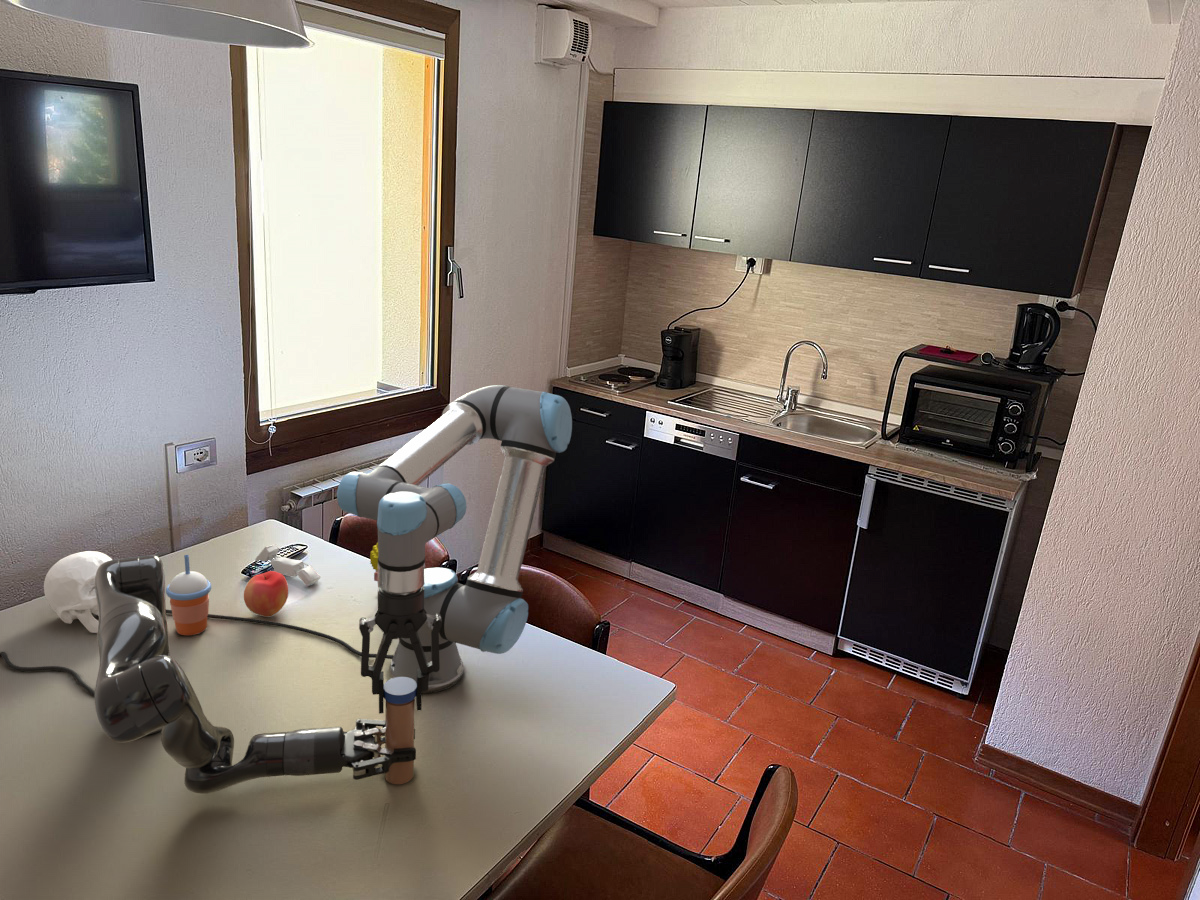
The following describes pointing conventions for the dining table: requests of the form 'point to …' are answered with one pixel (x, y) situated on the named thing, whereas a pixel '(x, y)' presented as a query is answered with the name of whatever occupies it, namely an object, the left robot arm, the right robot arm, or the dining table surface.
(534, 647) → the dining table surface
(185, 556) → the cup with straw
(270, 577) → the apple
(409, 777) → the jar
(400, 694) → the lid
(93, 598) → the skull
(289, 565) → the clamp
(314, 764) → the left robot arm
